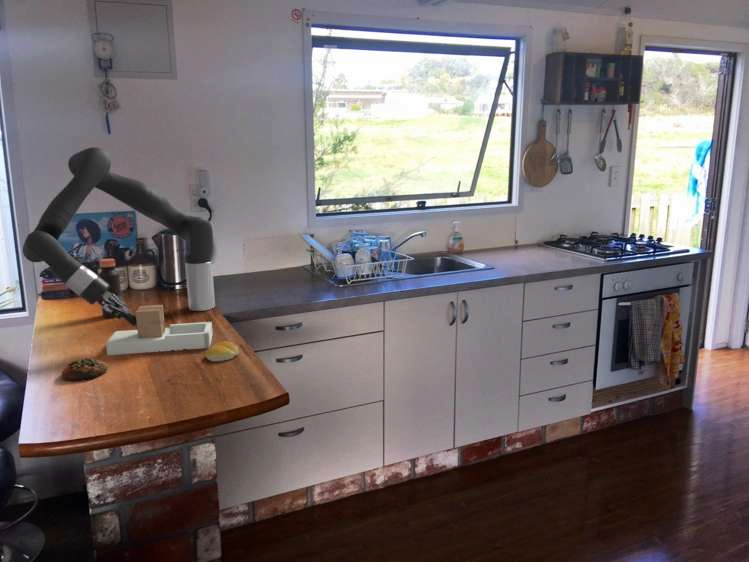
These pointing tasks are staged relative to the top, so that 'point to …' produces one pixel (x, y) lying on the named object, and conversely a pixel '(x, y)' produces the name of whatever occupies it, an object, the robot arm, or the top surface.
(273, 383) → the top surface
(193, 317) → the top surface
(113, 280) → the bottle
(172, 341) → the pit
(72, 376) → the bread roll
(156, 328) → the block
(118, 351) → the ledge
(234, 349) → the bread roll
